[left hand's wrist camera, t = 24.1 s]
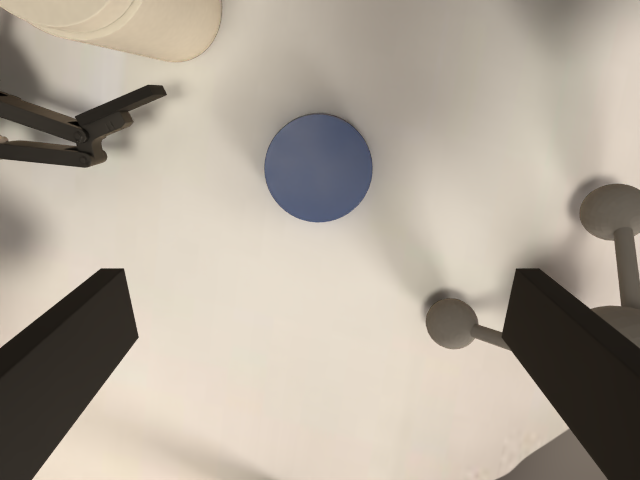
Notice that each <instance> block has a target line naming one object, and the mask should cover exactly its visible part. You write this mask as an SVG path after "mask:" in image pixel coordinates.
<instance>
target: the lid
mask: <svg viewBox="0 0 640 480" xmlns="http://www.w3.org/2000/svg"><path fill="white" fill-rule="evenodd" d="M265 178H266V183H267V186H268V189H269V191H270V193H271V195H272V196H273V198H274V199H275V201H276V202H277V203H278V204H279V206H280V207H282V208H283V209H284V210H285V211H286V212H288V213H289V214H291V215H293V216H294V217H296V218H299V219H302V220H305V221H309V222H327V221H332V220H336V219H338V218H341V217H343V216H345V215H346V214H348V213H349V212H351V211H352V210H353V209H354V208H355V207H356V206H358V205H359V203H360V202H361V201H362V200H363V198H364V196H365V195H366V193H367V191H368V188H369V186H370V182H371V178H372V159H371V155H370V151H369V149H368V146H367V144H366V142H365V140H364V139H363V137H362V136H361V135H360V133H359V132H358V131H357V130H356V129H355V128H354V127H353V126H351V125H350V124H349V123H348V122H346V121H344V120H343V119H341V118H338V117H336V116H333V115H329V114H322V113H315V114H308V115H304V116H301V117H298V118H296V119H294V120H293V121H291V122H289V123H288V124H287V125H286V126H284V127H283V128H282V129H281V130H280V131H279V132H278V133H277V134H276V136H275V137H274V139H273V140H272V142H271V144H270V146H269V148H268V151H267V154H266V159H265Z"/></svg>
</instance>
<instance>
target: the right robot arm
mask: <svg viewBox="0 0 640 480" xmlns="http://www.w3.org/2000/svg"><path fill="white" fill-rule="evenodd" d="M165 95H167V94H166V92H165V90H164V88H163V86H160V85H147V86H144V87H142V88H140V89H137V90H135V91H133V92H130V93H128V94H126V95H124V96H121V97H119V98H117V99H114V100H112V101H110V102H107V103H105V104H103V105H100V106H98V107H96V108H93V109H91V110H89V111H87V112H84V113H82V114H80V115H77V116H75V118H76V119H74V118H71V117H69V116H66V115H63V114H60V113H57V112H54V111H51V110H48V109H45V108H43V107H40V106H37V105H34V104H31V103H28V102H25V101H23V100H21V98H18V97H16V96H13V95H10V94H7V93H4V92H1V91H0V117H2V118H5V119H8V120H11V121H13V122H16V123H19V124H22V125H25V126H28V127H31V128H34V129H37V130H40V131H43V132H46V133H49V134H52V135H55V136H58V137H61V138H63V139H66V140H69V141H72V142H75V143H76V144H77V146H69V145H60V144H50V143H41V142H31V141H8V139H7V138H6V137H2V136H1V135H0V160H1V159H7V160H17V161H27V162H36V163H46V164H56V165H65V166H75V167H90V166H93V165H96V164H100V163H103V162H105V161H106V160H107V154H106V152H105V151H104V150H102V145H101V142H102V139H104V138H106V136H108V135H110V134H112V133H115V132H117V131H119V130H122V129H124V128H127V127H129V126H130V125H131V124H132V123H133V122H134V121H133V120H132V118H131V116H130V114H129V112H128V111H130V110H133V109H135V108H137V107H140V106H142V105H144V104H147V103H149V102H151V101H154V100H156V99H158V98H161V97H163V96H165Z"/></svg>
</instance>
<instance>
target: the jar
mask: <svg viewBox="0 0 640 480" xmlns="http://www.w3.org/2000/svg"><path fill="white" fill-rule="evenodd" d="M0 7H2V8H3V9H5V10H6V11H8V12H9V13H11V14H13V15H15V16H17V17H18V18H20V19H23V20H25V21H27V22H29V23H30V24H31V25H33V26H35V27H36V28H38V29H40V30H42V31H44V32H46V33H49V34H51V35H54V36H57V37H60V38H65V39H69V40H73V41H78V42H82V43H87V44H91V45H96V46H100V47H105V48H109V49H114V50H118V51H123V52H127V53H131V54H136V55H140V56H145V57H149V58H154V59H158V60H163V61H168V62H183V61H187V60H190V59H193V58H195V57H197V56H199V55H200V54H201V53H203V52H204V51H205V50H206V49H207V48H208V47H209V46H210V44H211V43H212V42H213V40H214V38H215V36H216V34H217V32H218V29H219V26H220V21H221V14H222V3H221V0H0Z"/></svg>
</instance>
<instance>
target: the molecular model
mask: <svg viewBox="0 0 640 480" xmlns="http://www.w3.org/2000/svg"><path fill="white" fill-rule="evenodd" d="M580 220H581V223H582V224H583V226H584V227H585V229H586V230H587V231H588V232H589V233H591V234H592V235H594V236H596V237H598V238H601V239H604V240H612V241H615V251H616V260H617V270H618V279H619V289H620V298H621V306H603V307H597V308H593V309H591V310H592V311H593V312H595V313H596V314H597V315H598V316H600V317H601V318H602V319H604V320H605V321H606V322H607V323H609V324H610V325H611V326H612V327H614V328H615V329H616V330H617V331H619V332H620V333H621V334H623V335H624V336H625V337H626V338H628V339H629V340H630V341H631V342H633V343H634V344H635V345H636V346H638V347H639V348H640V280H639V272H638V265H637V257H636V249H635V242H634V236H635V235H637V234H638V233H640V190H639V189H637V188H635V187H632V186H629V185H624V184H611V185H606V186H602V187H600V188H598V189H596V190H594V191H592V192H591V193H590V194H589V195H588V196H587V197H586V198H585V199H584V201H583V203H582V204H581V207H580ZM426 327H427V330H428V333H429V335H430V336H431V338H432V339H433V340H434V341H435V342H436V343H437V344H439V345H440V346H442V347H445V348H448V349H460V348H463V347H466V346H467V345H469V344H470V343H471V342H472V341H473V340H474V339H475V338H476V339H479V340H482V341H485V342H488V343H490V344H493V345H496V346H499V347H502V348H505V349H507V350H510V351H511V349H510V348H509V347H508V345H507V344H506V343H505V342H504V340H503V339H502V338H501V337H502V332H499V331H496V330H493V329H490V328H487V327H484V326H481V325H478V319H477V316H476V314H475V312H474V311H473V309H472V308H471V307H470V306H469V305H468V304H466V303H465V302H463V301H461V300H458V299H450V298H448V299H443V300H440V301H438V302H436V303H435V304H434V305H433V306H432V307H431V308H430V310H429V311H428V314H427V317H426Z"/></svg>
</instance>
